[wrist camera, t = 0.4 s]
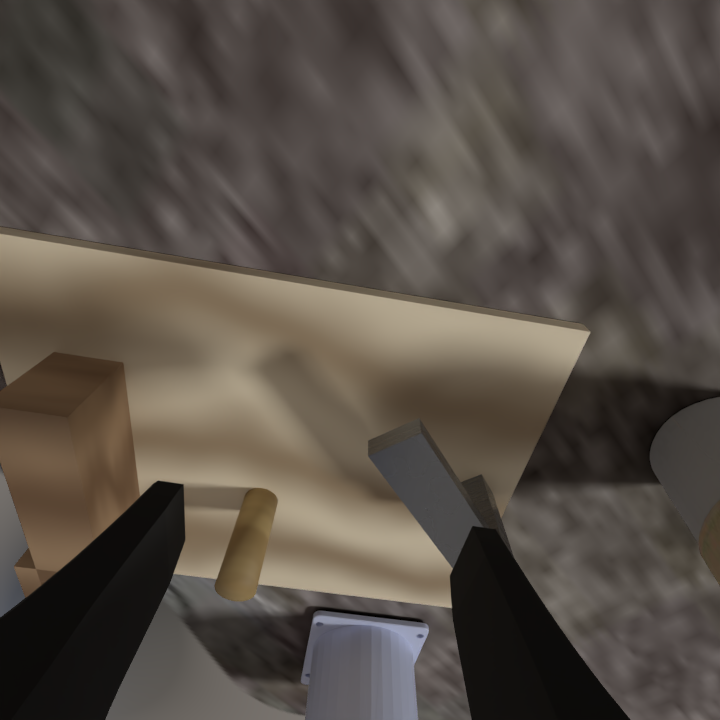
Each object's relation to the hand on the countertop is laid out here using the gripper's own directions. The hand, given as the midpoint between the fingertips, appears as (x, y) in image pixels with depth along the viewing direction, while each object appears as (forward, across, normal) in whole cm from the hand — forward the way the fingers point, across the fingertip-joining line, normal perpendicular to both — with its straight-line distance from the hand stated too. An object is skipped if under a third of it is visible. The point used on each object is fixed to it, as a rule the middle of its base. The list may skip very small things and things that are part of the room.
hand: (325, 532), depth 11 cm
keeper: (+9, -4, +3) cm, 10 cm away
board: (+10, +3, +7) cm, 12 cm away
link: (+9, +11, +9) cm, 17 cm away
